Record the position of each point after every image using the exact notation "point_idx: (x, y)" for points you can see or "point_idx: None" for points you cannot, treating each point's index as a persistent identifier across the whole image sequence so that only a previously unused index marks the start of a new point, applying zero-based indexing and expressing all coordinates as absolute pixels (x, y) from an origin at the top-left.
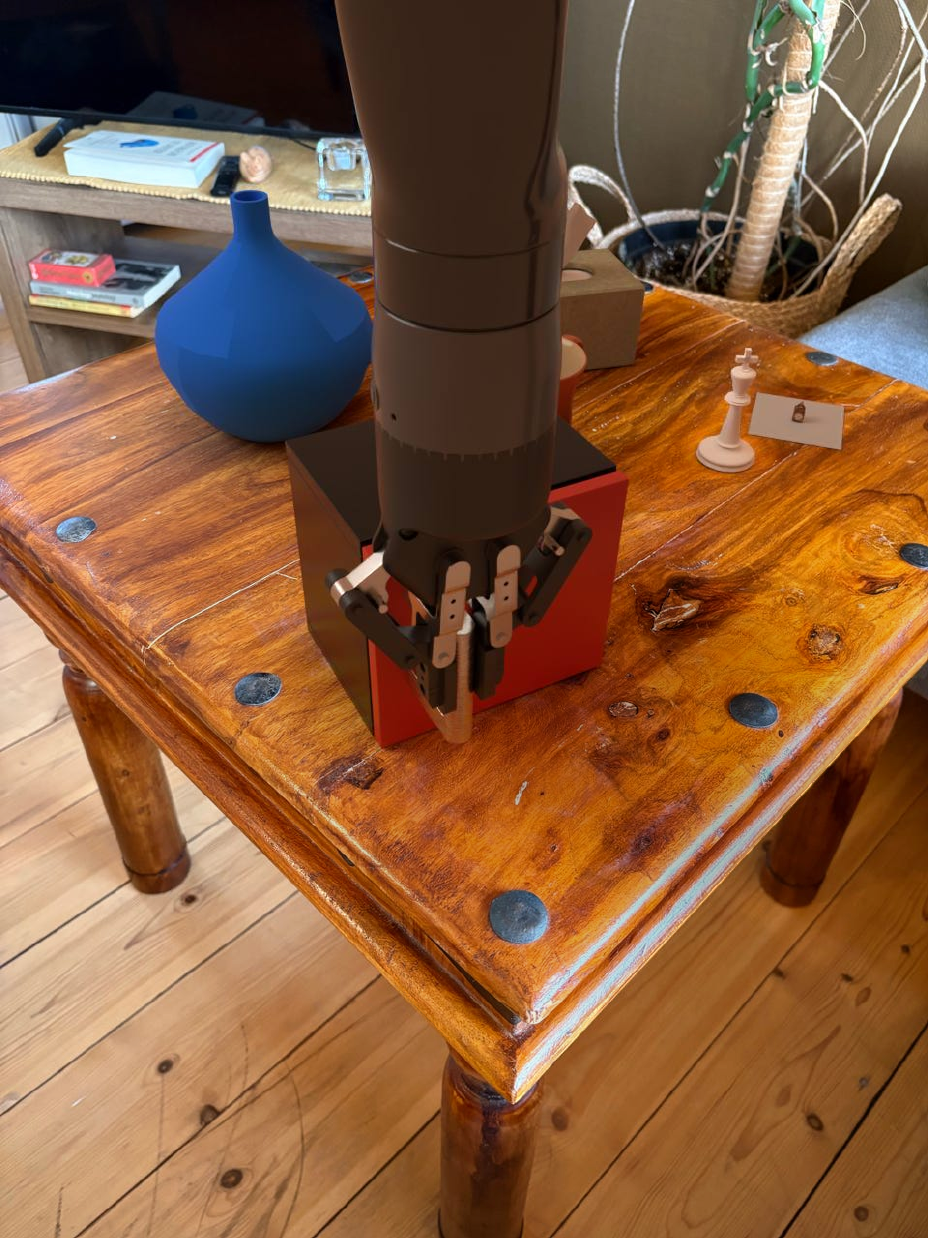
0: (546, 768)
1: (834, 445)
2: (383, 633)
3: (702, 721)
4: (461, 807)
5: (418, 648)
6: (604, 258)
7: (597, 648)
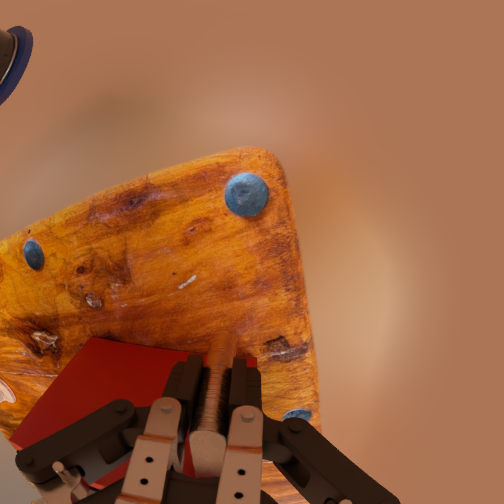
0: (160, 289)
1: None
2: (340, 472)
3: (57, 264)
4: (232, 293)
5: (276, 437)
6: (33, 485)
7: (88, 346)
